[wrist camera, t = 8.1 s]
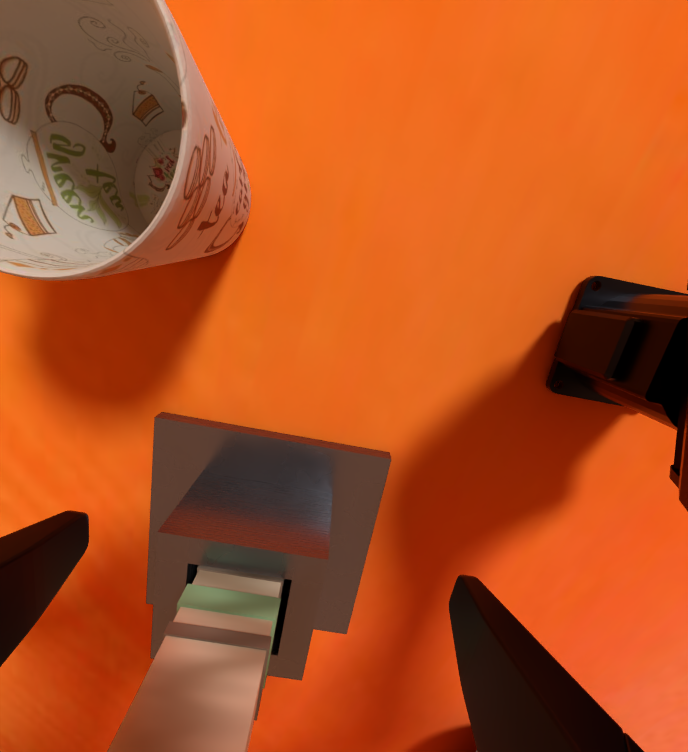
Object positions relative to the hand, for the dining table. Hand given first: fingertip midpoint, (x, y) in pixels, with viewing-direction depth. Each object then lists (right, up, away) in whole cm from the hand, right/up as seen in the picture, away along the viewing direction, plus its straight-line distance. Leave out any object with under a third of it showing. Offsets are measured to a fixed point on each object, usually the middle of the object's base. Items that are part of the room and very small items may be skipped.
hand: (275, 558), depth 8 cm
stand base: (-4, -6, +15) cm, 16 cm away
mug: (-8, +15, +9) cm, 19 cm away
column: (-4, -7, +10) cm, 13 cm away
